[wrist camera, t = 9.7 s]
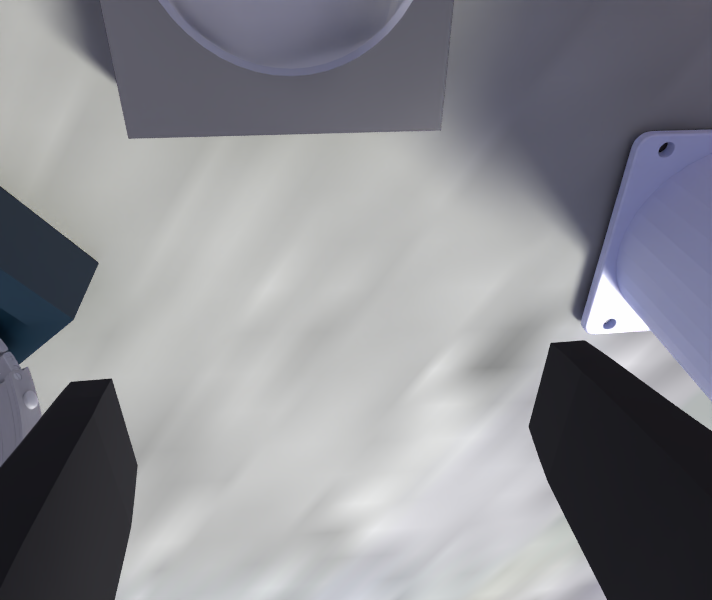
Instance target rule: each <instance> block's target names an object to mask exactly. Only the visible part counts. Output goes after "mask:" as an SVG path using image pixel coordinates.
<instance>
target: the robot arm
mask: <svg viewBox="0 0 712 600" xmlns="http://www.w3.org/2000/svg"><path fill="white" fill-rule="evenodd" d="M666 142H668V145H667V147H666V149H665V150H664V151H662V152H660V153H659V149H660V147H661V146H662V145H663V144H664V143H666ZM608 319H610V321H608V322H607V323H604V322H605V321H607V320H608ZM581 325H582V327H583V328H584V330H585V331H586V332H587V333H589V334H606V333H621V332H636V331H652V332H653V334H654V335H655V336H656V337H657V338H658V339H659V341H660V342H661V343H662V344H663V345H664V346H665V348H666V349H667V350H668V351H669V352H670V353H671V355H672V356H673V357H674V358H675V359H676V360H677V362H678V363H679V364H680V365H681V366H682V367H683V369H684V370H685V371H686V372H687V373H688V374H689V376H690V377H691V378H692V379H693V380H694V381H695V383H696V384H697V385H698V386H699V387H700V388H701V390H702V391H703V392H704V393H705V394H706V395H707V397H708V398H709V399H710V400H711V401H712V129H710V130H675V131H649V132H645V133H643V134H642V135H640V136H639V137H638V138H637V139H636V140H635V141H634V143H633V145H632V148H631V151H630V154H629V158H628V161H627V165H626V168H625V172H624V175H623V179H622V182H621V185H620V189H619V192H618V196H617V199H616V203H615V206H614V209H613V213H612V216H611V220H610V223H609V227H608V230H607V234H606V237H605V240H604V244H603V247H602V251H601V254H600V258H599V261H598V265H597V268H596V271H595V275H594V278H593V282H592V285H591V289H590V292H589V295H588V299H587V302H586V306H585V309H584V313H583V316H582V320H581ZM529 429H530V432H531V435H532V438H533V441H534V444H535V447H536V450H537V453H538V456H539V459H540V462H541V465H542V467H543V470H544V473H545V475H546V478H547V481H548V483H549V485H550V487H551V489H552V491H553V493H554V495H555V497H556V499H557V501H558V503H559V505H560V507H561V509H562V511H563V513H564V515H565V517H566V519H567V521H568V523H569V525H570V527H571V529H572V531H573V533H574V535H575V537H576V539H577V541H578V543H579V545H580V547H581V549H582V551H583V553H584V555H585V557H586V559H587V561H588V563H589V565H590V567H591V569H592V571H593V573H594V575H595V577H596V579H597V581H598V583H599V584H600V586H601V588H602V590H603V592H604V594H605V596H606V598H607V600H712V431H711V430H709V429H708V428H707V427H705V426H704V425H702V424H701V423H699V422H698V421H697V420H695V419H694V418H692V417H691V416H689V415H688V414H687V413H685V412H684V411H682V410H681V409H680V408H678V407H677V406H675V405H674V404H673V403H671V402H670V401H668V400H667V399H666V398H664V397H663V396H662V395H660V394H659V393H657V392H656V391H655V390H653V389H652V388H651V387H649V386H648V385H647V384H645V383H644V382H642V381H641V380H640V379H638V378H637V377H636V376H634V375H633V374H632V373H630V372H629V371H627V370H626V369H625V368H623V367H622V366H621V365H619V364H618V363H616V362H615V361H614V360H612V359H611V358H610V357H608V356H607V355H605V354H604V353H603V352H601V351H600V350H598V349H597V348H595V347H594V346H592V345H591V344H589V343H588V342H586V341H585V340H582V341H570V342H558V343H551V344H550V348H549V352H548V355H547V359H546V363H545V367H544V370H543V374H542V378H541V382H540V386H539V389H538V393H537V397H536V401H535V404H534V408H533V412H532V416H531V419H530V423H529ZM137 466H138V465H137V462H136V459H135V455H134V452H133V448H132V445H131V442H130V438H129V435H128V432H127V428H126V425H125V422H124V418H123V415H122V411H121V408H120V405H119V401H118V398H117V395H116V391H115V388H114V384H113V381H112V379H101V380H89V381H76V382H70V383H69V385H68V386H67V387H66V388H65V389H64V390H63V391H62V392H61V394H60V395H59V396H58V397H57V398H56V400H55V401H54V402H53V403H52V405H51V406H50V407H49V408H48V409H47V411H46V412H45V413H44V414H43V416H42V417H41V418H40V419H39V421H38V422H37V423H36V424H35V426H34V427H33V428H32V429H31V430H30V432H29V433H28V434H27V435H26V437H25V438H24V439H23V440H22V441H21V443H20V444H19V445H18V446H17V447H16V449H15V450H14V451H13V452H12V453H11V455H10V456H9V457H8V458H7V459H6V461H5V462H4V463H3V464H2V465H1V466H0V600H115V596H116V591H117V587H118V583H119V578H120V574H121V570H122V565H123V561H124V556H125V552H126V548H127V543H128V539H129V534H130V529H131V523H132V515H133V506H134V497H135V487H136V476H137Z"/></svg>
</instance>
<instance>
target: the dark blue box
mask: <svg viewBox="0 0 712 600" xmlns="http://www.w3.org/2000/svg"><path fill="white" fill-rule="evenodd" d="M98 264H99V263H98V262H97V261H95V260H94V259H93V258H91V257H90V256H89V255H88V254H86V253H85V252H84V251H82V250H81V249H80V248H79V247H77V246H76V245H75V244H73V243H72V242H71V241H70V240H68V239H67V238H66V237H64V236H63V235H62V234H61V233H59V232H58V231H57V230H55V229H54V228H53V227H52V226H50V225H49V224H48V223H46V222H45V221H44V220H42V219H41V218H40V217H39V216H37V215H36V214H35V213H33V212H32V211H31V210H30V209H28V208H27V207H26V206H24V205H23V204H22V203H21V202H19V201H18V200H17V199H15V198H14V197H13V196H12V195H10V194H9V193H8V192H6V191H5V190H4V189H3V188H1V187H0V466H1V465H2V464H3V463H4V462H5V461H6V459H7V458H8V457H9V456H10V455H11V453H12V452H13V451H14V450H15V449H16V447H17V446H18V445H19V444H20V443H21V441H22V440H23V439H24V438H25V437H26V435H27V434H28V433H29V432H30V430H31V429H32V428H33V427H34V426H35V424H36V423H37V422H38V421H39V419H40V418H41V417H42V415H41V410H40V405H39V401H38V397H37V393H36V390H35V386H34V383H33V379H32V376H31V373H30V371H29V368H28V367H26V368H24V369H21V368H20V366H19V364H20V363H21V362H23V361H24V360H25V359H26V358H28V357H29V356H30V355H31V354H32V353H34V352H35V351H36V350H37V349H38V348H40V347H41V346H42V345H43V344H45V343H46V342H47V341H48V340H49V339H51V338H52V337H53V336H54V335H56V334H57V333H58V332H59V331H60V330H62V329H63V328H64V327H65V326H66V325H68V324H69V323H70V322H71V321H73V320H74V318H75V315H76V313H77V311H78V309H79V306H80V304H81V302H82V300H83V297H84V295H85V293H86V291H87V288H88V286H89V284H90V282H91V279H92V277H93V275H94V273H95V270H96V268H97V266H98Z"/></svg>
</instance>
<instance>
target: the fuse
mask: <svg viewBox="0 0 712 600" xmlns="http://www.w3.org/2000/svg"><path fill="white" fill-rule="evenodd" d="M158 1H159V2H160V3H161V5H162V6H163V7H164V9H165V10H166V11H167V12H168V14H169V15H170V16H171V17H172V19H173V20H174V21H175V22H176V23H177V24H178V25H179V26H180V27H181V28H182V29H183V30H184V31H185V32H186V33H187V34H188V35H189V36H191V37H192V38H193V39H194V40H195V41H197V42H198V43H199V44H200V45H202V46H203V47H204V48H206V49H207V50H209V51H211V52H212V53H214V54H215V55H217V56H218V57H220V58H222V59H224V60H226V61H228V62H231V63H233V64H235V65H237V66H239V67H242V68H246V69H249V70H252V71H255V72H259V73H265V74H270V75H279V76H300V75H311V74H315V73H320V72H324V71H328V70H331V69H334V68H336V67H339V66H342V65H344V64H346V63H348V62H350V61H352V60H354V59H356V58H358V57H359V56H361V55H362V54H364V53H365V52H367V51H368V50H369V49H371V48H372V47H374V46H375V45H376V44H377V43H378V42H379V41H380V40H382V39H383V38H384V37H385V36H386V35H387V34H388V33H389V32H390V31H391V30H392V29H393V27H394V26H395V25H396V24H397V23H398V21H399V20H400V19H401V18H402V17H403V15H404V13H405V12H406V10H407V9H408V7H409V6H410V4H411V3H412V1H413V0H158Z"/></svg>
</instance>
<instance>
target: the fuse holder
mask: <svg viewBox="0 0 712 600" xmlns="http://www.w3.org/2000/svg"><path fill="white" fill-rule="evenodd" d="M453 2H454V0H413V1H412V3H411V4H410V6H409V7H408V9H407V10H406V12H405V13H404V15H403V17H402V18H401V19H400V20H399V21H398V23H397V24H396V25H395V26H394V27H393V29H392V30H391V31H390V32H389V33H388V34H387V35H386V36H385V37H384V38H383V39H382V40H380V41H379V42H378V43H377V44H376V45H375V46H374V47H372V48H371V49H369V50H368V51H367V52H365V53H364V54H362V55H361V56H359V57H358V58H356V59H354V60H352V61H350V62H348V63H346V64H344V65H342V66H339V67H336V68H334V69H331V70H328V71H324V72H320V73H315V74H311V75H300V76H279V75H270V74H265V73H259V72H255V71H252V70H249V69H246V68H242V67H239V66H237V65H235V64H233V63H231V62H228V61H226V60H224V59H222V58H220V57H218V56H217V55H215V54H214V53H212V52H211V51H209V50H207V49H206V48H204V47H203V46H202V45H200V44H199V43H198V42H197V41H195V40H194V39H193V38H192V37H191V36H189V35H188V34H187V33H186V32H185V31H184V30H183V29H182V28H181V27H180V26H179V25H178V24H177V23H176V22H175V21H174V20H173V19H172V17H171V16H170V15H169V14H168V12H167V11H166V10H165V9H164V7H163V6H162V5H161V3H160V2H159V1H158V0H100V5H101V10H102V14H103V19H104V24H105V29H106V34H107V38H108V43H109V48H110V53H111V57H112V62H113V67H114V72H115V77H116V81H117V86H118V91H119V96H120V101H121V105H122V110H123V115H124V120H125V125H126V129H127V134H128V139H132V138H170V137H208V136H245V135H283V134H321V133H358V132H396V131H434V130H441V124H442V114H443V103H444V93H445V83H446V73H447V63H448V53H449V43H450V33H451V23H452V12H453Z"/></svg>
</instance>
